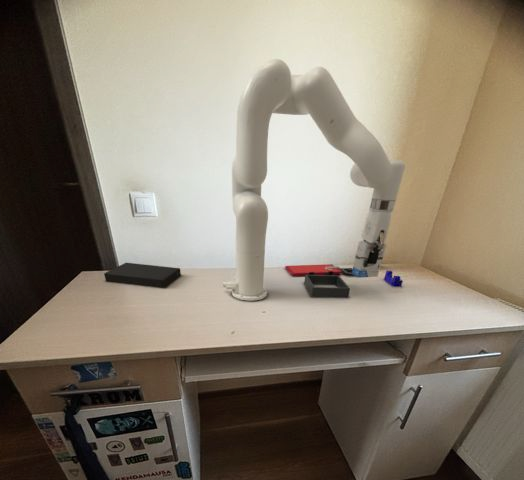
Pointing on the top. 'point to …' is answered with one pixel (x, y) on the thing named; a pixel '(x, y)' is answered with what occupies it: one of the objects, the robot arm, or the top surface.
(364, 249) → the ink box
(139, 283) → the external hard drive
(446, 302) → the top surface
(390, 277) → the cable holder
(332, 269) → the red board with handle
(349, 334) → the top surface
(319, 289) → the tray
